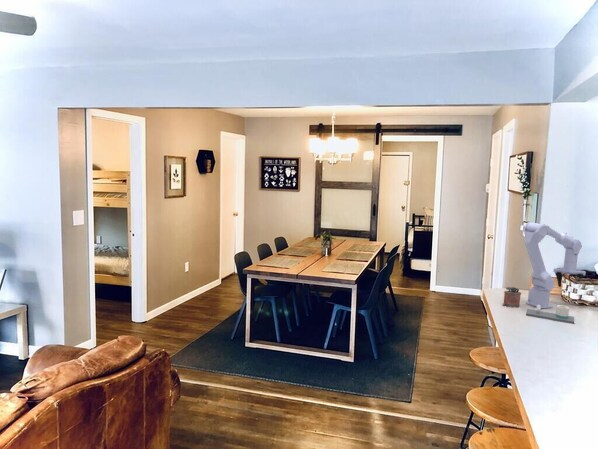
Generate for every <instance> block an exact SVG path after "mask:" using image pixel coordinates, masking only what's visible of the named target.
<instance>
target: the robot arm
mask: <svg viewBox="0 0 598 449" xmlns="http://www.w3.org/2000/svg"><path fill="white" fill-rule="evenodd" d="M522 230H523V234H524V245H525V248H526V251H527V254H528V258H529V260H530V263H531V266H532V270H533V273H532V274H531V284H532V285H533V286H532V287H530V288H529V290H528V295H527V301H526V304H527V305H530V306H533V307H536V308H537V305H540V306H541V309H550V308H553V305H550V296H551V295H550V294H551V291H552V290H553V289H554V288H555V285H556V282H555V280H554V278H553V277H552V275H551V274H550V273H549V272H548V271H547V270H546V266H545V263H544V260H543V256H542V253H541V251H540V246H539V243H541V242H542V241H543V240H544V238H545V237H546V236H548V237H551V238H553V239H554V241H555V242H556V243H558V244H559V245H561V246H563V248H564V249H565V250H564V251H565V252H564V260H563V261H564V262H563V268H555V267H554V268H553V271H552V272H553V273H554V274H555V276H556V281H557V286H558V287H559V288H561V287H562V280H563V274H569V275H574V276H577V277H579V278H584V276H586V273H587V272H586V271H585V270H577V265H578V256H579V254H580V252H581V251H580V250H581V249H582V243H581V241H580V240H579V239H575V238H574V237H573V236H571V235H568V233H567V232H565V231H564V232H561V231H560V232H559V231H556V230H555V229H554V228H552V227H550V226H549V225H547V224H545V223H536V222H533V221H529V222H527V223H526V224H525V226H524V227H523V229H522Z"/></svg>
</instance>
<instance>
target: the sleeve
mask: <svg viewBox="0 0 598 449" xmlns="http://www.w3.org/2000/svg"><path fill="white" fill-rule="evenodd" d="M555 311H556V312H555V314H556V317H558V318H562V319H568V316H569V313H570V308H569V306H566V305H562V304H558V305H556V310H555Z"/></svg>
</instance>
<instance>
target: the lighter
mask: <svg viewBox="0 0 598 449" xmlns="http://www.w3.org/2000/svg"><path fill="white" fill-rule="evenodd" d="M505 289H506V290H504V291H503V293H504V294H503V295H504V296H503V303H502V306H503V307H505V306H506V308H507V307H508V308H520V307H521V306H520V302H521V295H522V292H520V288H519V287H515V286H506V287H505Z"/></svg>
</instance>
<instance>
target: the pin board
mask: <svg viewBox="0 0 598 449" xmlns="http://www.w3.org/2000/svg"><path fill="white" fill-rule="evenodd" d="M541 310H542V308H541V306H540V305H537V307H536V309H530V308H527V309H526V312H525V316H527V317H533V318H537V319H543V320H550V321H554V322H555V321H557V322H561V323H567V324H575V316H571V315H568V319H562V318H558V317H556V312H555V313H554V312H548V311H543V310H542V311H541Z"/></svg>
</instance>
